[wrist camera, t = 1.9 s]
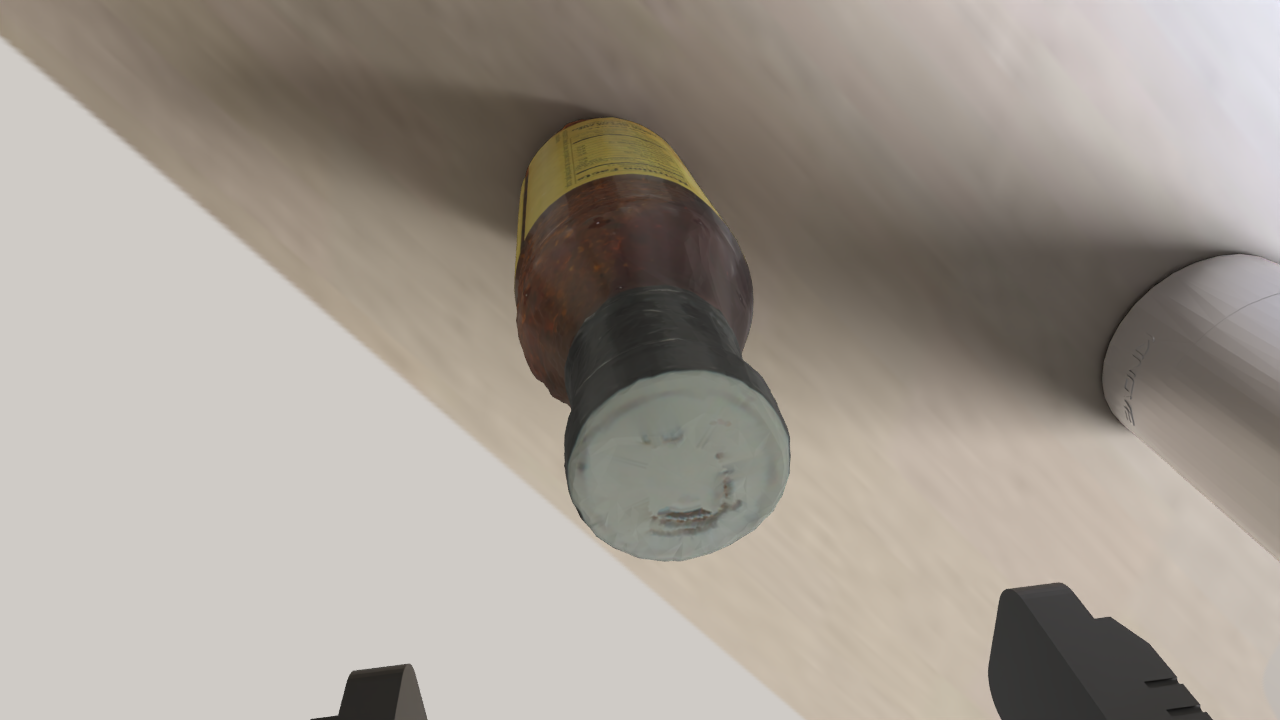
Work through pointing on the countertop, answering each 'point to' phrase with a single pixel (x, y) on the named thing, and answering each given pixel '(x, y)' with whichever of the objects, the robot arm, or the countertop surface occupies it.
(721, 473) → the sauce bottle
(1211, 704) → the countertop surface
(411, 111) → the countertop surface
